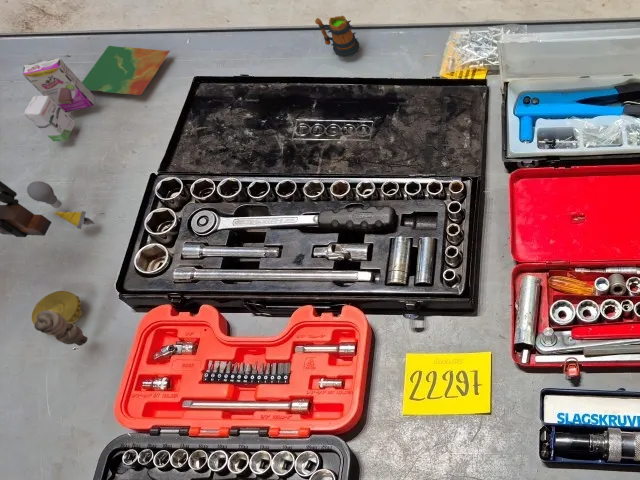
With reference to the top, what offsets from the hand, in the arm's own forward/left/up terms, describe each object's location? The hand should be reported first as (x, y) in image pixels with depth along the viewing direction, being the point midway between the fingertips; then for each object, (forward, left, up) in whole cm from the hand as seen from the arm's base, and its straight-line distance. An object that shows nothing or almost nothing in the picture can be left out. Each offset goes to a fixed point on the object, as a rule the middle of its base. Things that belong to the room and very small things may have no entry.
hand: (26, 227), depth 145 cm
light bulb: (-10, +17, -14) cm, 24 cm away
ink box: (-22, +47, -14) cm, 54 cm away
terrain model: (-13, +77, -14) cm, 80 cm away
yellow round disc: (+7, -19, -14) cm, 25 cm away
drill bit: (+1, +10, -14) cm, 17 cm away
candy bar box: (-22, +59, -14) cm, 65 cm away
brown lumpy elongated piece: (+18, -27, -14) cm, 35 cm away
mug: (+64, +92, -14) cm, 113 cm away
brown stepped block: (0, 0, 0) cm, 0 cm away
